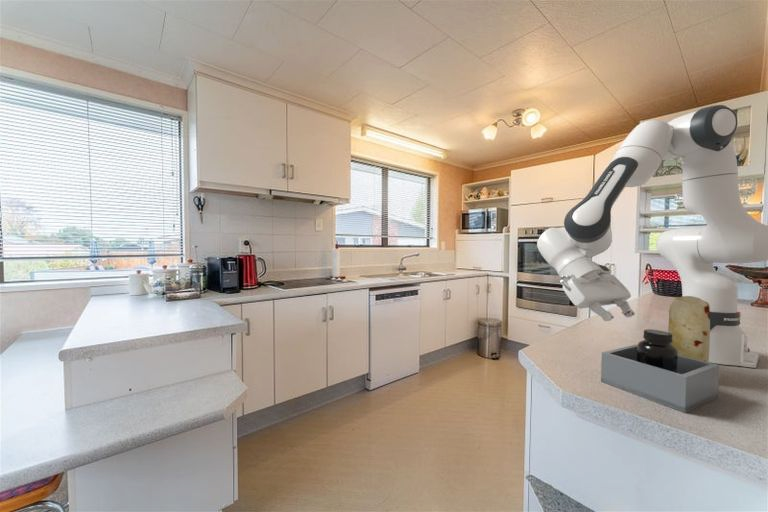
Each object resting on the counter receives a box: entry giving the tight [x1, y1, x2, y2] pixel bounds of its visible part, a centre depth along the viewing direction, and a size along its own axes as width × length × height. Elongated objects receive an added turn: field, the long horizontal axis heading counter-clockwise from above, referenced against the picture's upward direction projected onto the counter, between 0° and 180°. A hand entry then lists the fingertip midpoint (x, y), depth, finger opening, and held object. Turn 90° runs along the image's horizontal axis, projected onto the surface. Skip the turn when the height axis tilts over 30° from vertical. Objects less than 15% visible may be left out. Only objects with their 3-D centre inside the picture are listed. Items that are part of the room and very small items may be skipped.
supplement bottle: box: [636, 328, 678, 373], centre depth 68 cm, size 7×7×12 cm
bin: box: [600, 344, 720, 414], centre depth 68 cm, size 15×15×7 cm
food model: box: [667, 296, 710, 363], centre depth 75 cm, size 10×7×20 cm
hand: (621, 317), depth 74 cm, fingers open, 8 cm apart
